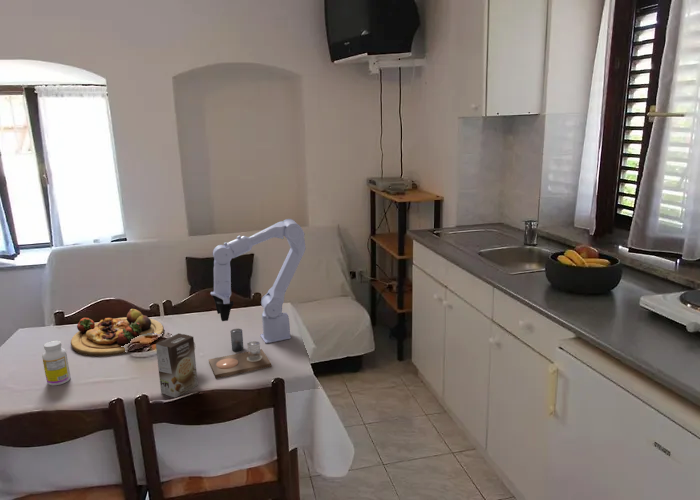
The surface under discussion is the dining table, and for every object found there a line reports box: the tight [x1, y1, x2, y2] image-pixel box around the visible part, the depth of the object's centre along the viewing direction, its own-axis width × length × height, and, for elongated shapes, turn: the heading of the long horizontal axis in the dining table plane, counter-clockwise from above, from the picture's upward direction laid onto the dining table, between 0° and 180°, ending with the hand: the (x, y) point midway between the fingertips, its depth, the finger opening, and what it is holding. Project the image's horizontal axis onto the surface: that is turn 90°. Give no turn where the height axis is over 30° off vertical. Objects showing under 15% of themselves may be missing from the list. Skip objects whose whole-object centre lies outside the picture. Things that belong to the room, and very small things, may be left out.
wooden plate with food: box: [70, 308, 165, 357], centre depth 203 cm, size 32×32×8 cm
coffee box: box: [155, 333, 199, 398], centre depth 163 cm, size 9×6×16 cm
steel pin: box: [230, 328, 244, 353], centre depth 191 cm, size 4×4×7 cm
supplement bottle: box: [41, 340, 71, 387], centre depth 170 cm, size 7×7×13 cm
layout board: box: [208, 340, 272, 379], centre depth 179 cm, size 18×12×6 cm, turn 114°
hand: (222, 316), depth 193 cm, fingers open, 7 cm apart
